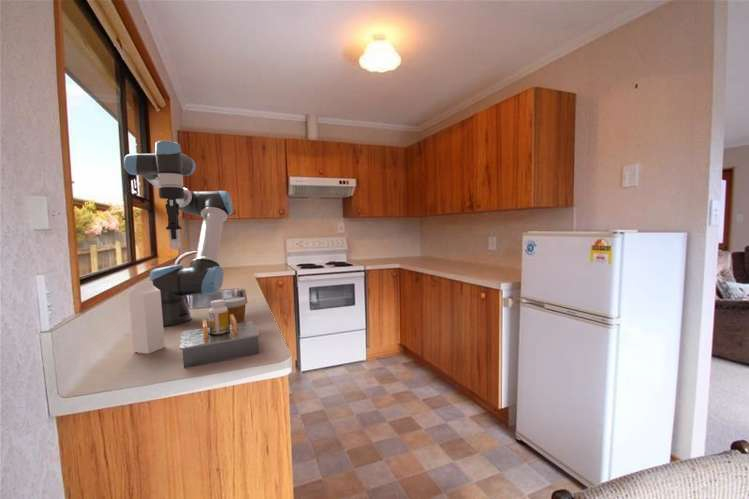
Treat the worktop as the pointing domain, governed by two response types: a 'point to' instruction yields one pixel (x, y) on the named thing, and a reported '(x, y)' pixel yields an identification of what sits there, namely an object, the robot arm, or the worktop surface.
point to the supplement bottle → (218, 317)
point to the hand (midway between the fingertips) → (175, 248)
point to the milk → (146, 318)
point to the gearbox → (219, 343)
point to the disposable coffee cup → (236, 308)
